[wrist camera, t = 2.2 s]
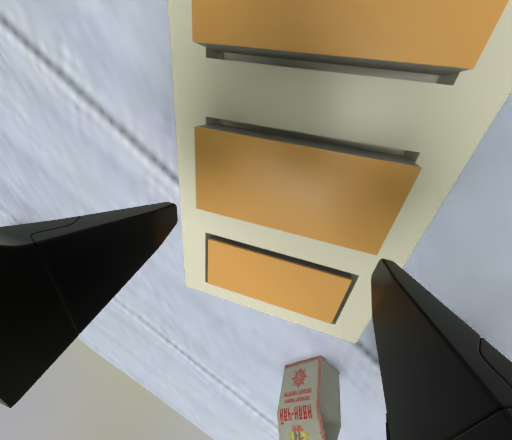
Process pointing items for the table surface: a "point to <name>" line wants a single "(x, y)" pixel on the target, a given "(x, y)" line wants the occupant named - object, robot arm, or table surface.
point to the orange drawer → (301, 185)
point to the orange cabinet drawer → (277, 278)
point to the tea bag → (309, 401)
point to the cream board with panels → (334, 132)
